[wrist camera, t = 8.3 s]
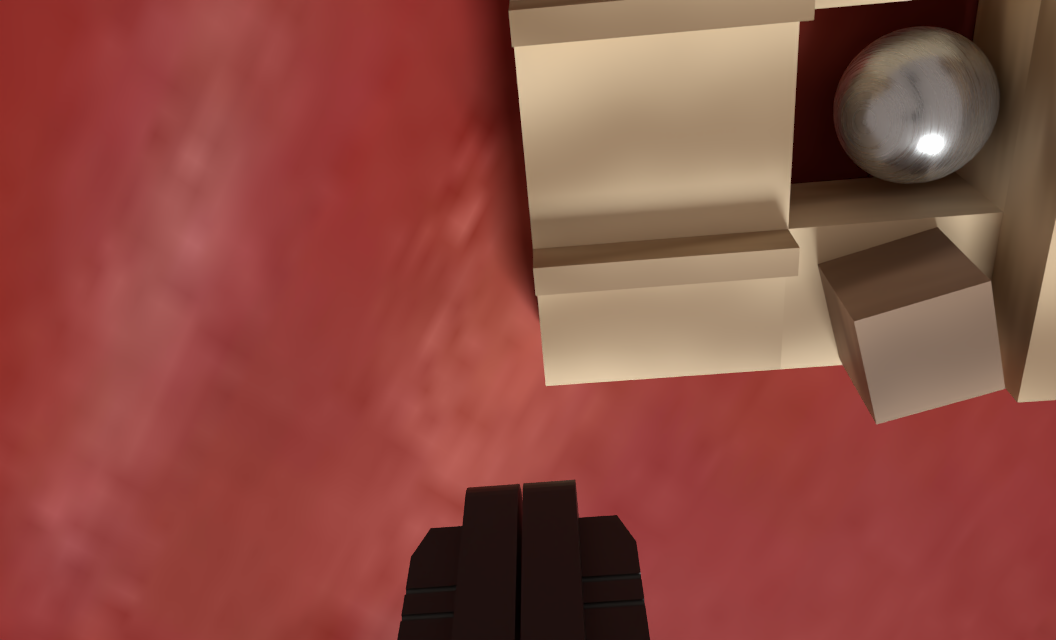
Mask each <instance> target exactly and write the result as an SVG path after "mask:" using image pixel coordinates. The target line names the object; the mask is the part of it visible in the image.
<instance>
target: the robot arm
mask: <svg viewBox="0 0 1056 640" xmlns="http://www.w3.org/2000/svg"><path fill="white" fill-rule="evenodd" d="M398 640H650V637H649V630H648V622H647V615H646V608H645V603H644V594H643V587H642V580H641V573H640V566H639V559H638V551H637V544H636V541H635V539H634V538H633V537H632V535H631V534H630V533H629V531H628V530H627V528H626V527H625V526H624V524H623V523H622V522H621V520H620V519H619V518H618V516H617V515H613V516H598V517H584V518H579V514H578V503H577V492H576V482H575V480H565V481H551V482H537V483H524V484H523V500H522V493H521V488H520V484H512V485H498V486H484V487H470V488H467V490H466V496H465V506H464V516H463V526H457V527H443V528H431V529H430V530H429V532H428V533H427V535H426V536H425V537H424V539H423V540H422V542H421V543H420V545H419V546H418V548H417V549H416V551H415V552H414V553H413V555H412V556H411V561H410V567H409V573H408V579H407V585H406V595H405V597H404V603H403V609H402V621H401V622H400V628H399V634H398Z"/></svg>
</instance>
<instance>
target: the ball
mask: <svg viewBox="0 0 1056 640" xmlns="http://www.w3.org/2000/svg"><path fill="white" fill-rule="evenodd" d="M999 106H1000V89H999V83H998V79H997V75H996V73H995V70H994V68H993V66H992V64H991V62H990V61H989V59H988V57H987V56H986V55H985V54H984V52H983V51H982V50H981V49H980V48H979V47H978V46H977V45H976V44H974V43H973V42H972V41H970V40H969V39H968V38H966V37H964V36H962V35H961V34H959V33H956V32H953V31H951V30H948V29H944V28H939V27H930V26H917V27H909V28H904V29H900V30H896V31H894V32H891V33H889V34H886V35H884V36H882V37H880V38H879V39H877V40H875V41H874V42H872V43H870V44H869V45H868V46H866V47H865V48H864V49H863V50H862V51H861V52H860V53H859V54H858V55H857V56H856V57H855V58H854V59H853V60H852V61H851V63H850V64H849V65H848V67H847V68H846V70H845V71H844V73H843V75H842V77H841V79H840V81H839V84H838V87H837V90H836V93H835V97H834V104H833V120H834V126H835V130H836V134H837V137H838V139H839V142H840V144H841V146H842V148H843V149H844V151H845V152H846V154H847V155H848V156H849V158H850V159H851V160H852V161H853V162H854V163H855V164H856V165H857V166H859V167H860V168H861V169H863V170H864V171H866V172H867V173H869V174H871V175H873V176H875V177H877V178H880V179H882V180H885V181H889V182H894V183H902V184H914V183H925V182H929V181H933V180H936V179H940V178H942V177H945V176H947V175H949V174H951V173H953V172H955V171H956V170H958V169H960V168H961V167H963V166H964V165H965V164H966V163H968V162H969V161H970V160H971V159H973V157H974V156H975V155H976V154H977V153H978V152H979V151H980V150H981V148H982V147H983V146H984V144H985V143H986V142H987V140H988V139H989V137H990V135H991V133H992V131H993V129H994V126H995V123H996V121H997V117H998V113H999Z"/></svg>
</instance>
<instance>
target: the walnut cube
mask: <svg viewBox="0 0 1056 640" xmlns="http://www.w3.org/2000/svg"><path fill="white" fill-rule="evenodd" d="M818 269H819V273H820V277H821V282H822V286H823V290H824V295H825V299H826V303H827V307H828V312H829V316H830V320H831V325H832V329H833V333H834V338H835V342H836V346H837V350H838V355H839V359H840V361H841V363H842V364H843V366H844V368H845V370H846V371H847V373H848V375H849V377H850V378H851V380H852V382H853V384H854V386H855V387H856V389H857V391H858V393H859V394H860V396H861V398H862V400H863V401H864V403H865V405H866V407H867V408H868V410H869V412H870V414H871V415H872V417H873V419H874V421H875V423H876V424H879V423H883V422H887V421H890V420H894V419H898V418H901V417H905V416H908V415H912V414H916V413H919V412H923V411H927V410H930V409H934V408H937V407H941V406H945V405H948V404H952V403H955V402H959V401H963V400H966V399H970V398H974V397H977V396H981V395H984V394H988V393H992V392H995V391H999V390H1002V389H1005V384H1004V376H1003V368H1002V361H1001V353H1000V346H999V338H998V330H997V323H996V315H995V308H994V300H993V293H992V285H991V280H990V279H989V278H988V277H987V276H986V275H985V274H984V273H983V272H982V271H981V270H980V269H979V268H978V267H977V266H976V265H975V264H974V263H973V262H972V261H971V260H970V259H969V258H968V257H967V256H966V255H965V254H964V253H963V252H962V251H961V250H960V249H959V248H958V247H957V246H956V245H955V244H954V243H953V242H952V241H951V240H950V239H949V238H948V237H947V236H946V235H945V234H944V233H943V232H942V231H941V230H940V229H939V228H938V227H936V228H933V229H930V230H926V231H923V232H920V233H917V234H913V235H910V236H907V237H904V238H901V239H897V240H894V241H891V242H888V243H884V244H881V245H878V246H875V247H871V248H868V249H865V250H862V251H859V252H855V253H852V254H849V255H846V256H842V257H839V258H836V259H833V260H830V261H826V262H823V263H820V264H818Z"/></svg>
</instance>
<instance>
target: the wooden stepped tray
mask: <svg viewBox="0 0 1056 640" xmlns="http://www.w3.org/2000/svg"><path fill="white" fill-rule="evenodd" d="M899 1H910V0H510V3H509V21H510V32H511V42H512V47H514V52H515V63H516V73H517V84H518V94H519V105H520V116H521V126H522V137H523V148H524V158H525V169H526V180H527V190H528V201H529V211H530V222H531V233H532V243H533V274H534V284H535V295H536V296H537V297H538V307H539V318H540V328H541V339H542V350H543V360H544V371H545V382H546V386H551V385H565V384H579V383H593V382H607V381H621V380H636V379H650V378H664V377H678V376H692V375H706V374H720V373H734V372H748V371H762V370H776V369H790V368H804V367H818V366H832V365H843V364H842V363H841V361H840V359H839V355H838V350H837V346H836V342H835V338H834V333H833V329H832V325H831V320H830V316H829V312H828V307H827V303H826V299H825V295H824V290H823V286H822V282H821V277H820V273H819V269H818V264H820V263H823V262H826V261H830V260H833V259H836V258H839V257H842V256H846V255H849V254H852V253H855V252H859V251H862V250H865V249H868V248H871V247H875V246H878V245H881V244H884V243H888V242H891V241H894V240H897V239H901V238H904V237H907V236H910V235H913V234H917V233H920V232H923V231H926V230H930V229H933V228H936V227H938V228H939V229H940V230H941V231H942V232H943V233H944V234H945V235H946V236H947V237H948V238H949V239H950V240H951V241H952V242H953V243H954V244H955V245H956V246H957V247H958V248H959V249H960V250H961V251H962V252H963V253H964V254H965V255H966V256H967V257H968V258H969V259H970V260H971V261H972V262H973V263H974V264H975V265H976V266H977V267H978V268H979V269H980V270H981V271H982V272H983V273H984V274H985V275H986V276H987V277H988V278H989V279H990V280H991V285H992V293H993V300H994V308H995V315H996V323H997V330H998V338H999V346H1000V353H1001V361H1002V368H1003V376H1004V384H1005V388H1006V389H1007V390H1008V392H1009V393H1010V394H1011V395H1012V396H1013V398H1014V399H1015V400H1016V401H1017V402H1031V401H1046V400H1056V0H979V3H978V10H977V17H976V23H975V30H974V37H973V43H974V44H976V45H977V46H978V47H979V48H980V49H981V50H982V51H983V52H984V54H985V55H986V56H987V57H988V59H989V61H990V62H991V64H992V66H993V68H994V70H995V73H996V75H997V79H998V83H999V89H1000V106H999V113H998V117H997V121H996V123H995V126H994V129H993V131H992V133H991V135H990V137H989V139H988V140H987V142H986V143H985V144H984V146H983V147H982V148H981V150H980V151H979V152H978V153H977V154H976V155H975V156H974V157H973V159H971V160H970V161H969V162H968V163H966V164H965V165H964V166H963V167H961V168H960V169H958V170H956V171H955V172H953V173H951V174H949V175H947V176H945V177H942V178H940V179H936V180H933V181H929V182H925V183H914V184H902V183H894V182H889V181H885V180H882V179H880V178H877V177H871V178H858V179H846V180H834V181H821V182H809V183H797V184H791V169H792V151H793V132H794V114H795V96H796V78H797V60H798V41H799V23H800V21H811V20H814V12H815V9H821V8H832V7H843V6H854V5H865V4H876V3H887V2H899Z"/></svg>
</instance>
